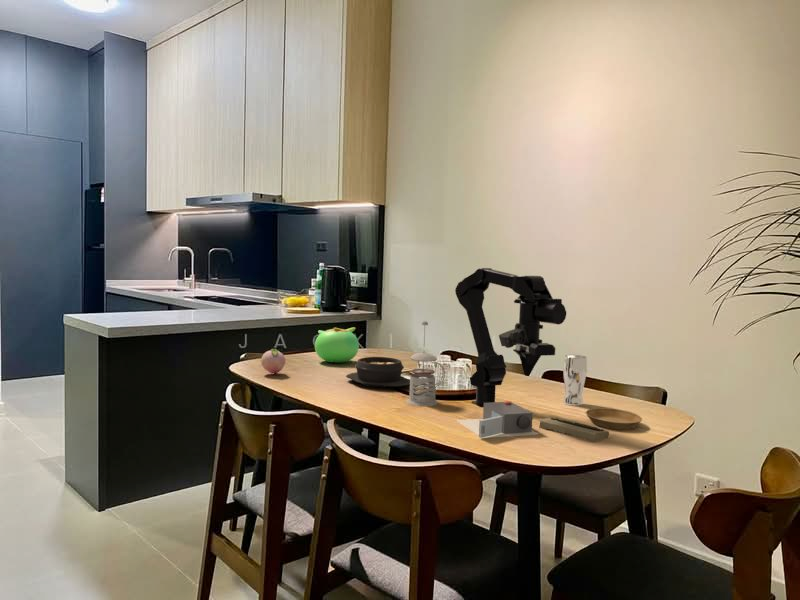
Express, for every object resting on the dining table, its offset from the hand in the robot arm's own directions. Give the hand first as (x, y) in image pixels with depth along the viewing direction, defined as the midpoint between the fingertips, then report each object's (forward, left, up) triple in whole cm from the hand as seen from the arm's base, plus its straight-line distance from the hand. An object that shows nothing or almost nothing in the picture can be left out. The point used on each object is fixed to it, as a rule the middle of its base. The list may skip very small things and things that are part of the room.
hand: (526, 375), depth 166 cm
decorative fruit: (-70, -63, -12) cm, 95 cm away
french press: (-22, -22, -12) cm, 33 cm away
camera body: (+8, -10, -12) cm, 17 cm away
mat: (+8, -13, -12) cm, 19 cm away
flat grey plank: (+16, +5, -13) cm, 21 cm away
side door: (+16, -18, -11) cm, 26 cm away
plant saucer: (+10, +22, -12) cm, 27 cm away
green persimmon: (-92, -35, -12) cm, 99 cm away
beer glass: (-12, +24, -12) cm, 29 cm away
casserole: (-49, -29, -12) cm, 58 cm away
